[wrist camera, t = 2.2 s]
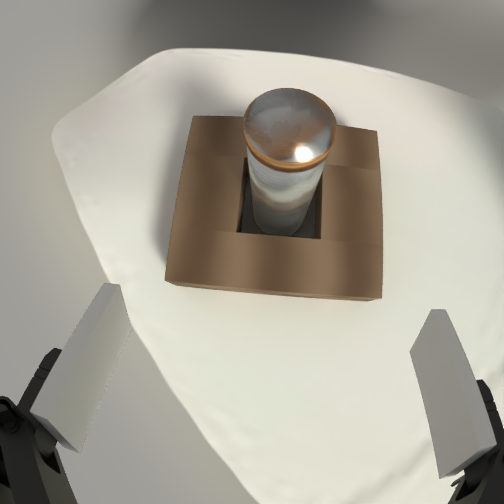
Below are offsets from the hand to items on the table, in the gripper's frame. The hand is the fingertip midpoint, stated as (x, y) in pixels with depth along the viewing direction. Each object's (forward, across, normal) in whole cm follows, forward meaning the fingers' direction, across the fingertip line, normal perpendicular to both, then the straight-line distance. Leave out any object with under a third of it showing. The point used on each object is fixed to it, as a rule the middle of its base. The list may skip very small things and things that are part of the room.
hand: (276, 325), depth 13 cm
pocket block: (+19, 0, -4) cm, 20 cm away
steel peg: (+19, 0, -4) cm, 20 cm away
